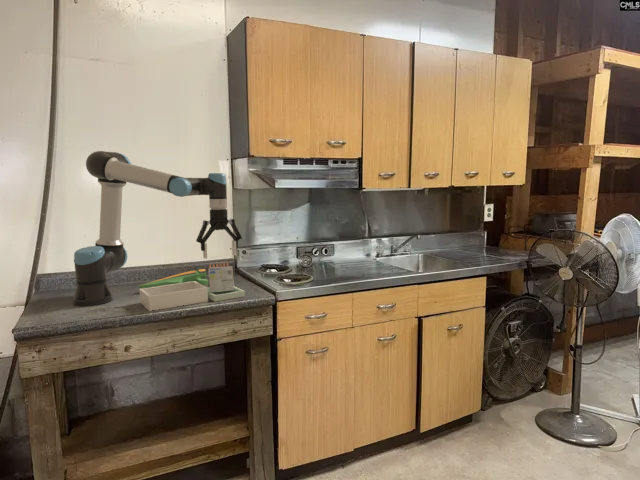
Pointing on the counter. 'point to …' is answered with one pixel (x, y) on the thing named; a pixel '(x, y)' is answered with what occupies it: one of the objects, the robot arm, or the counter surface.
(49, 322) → the counter surface
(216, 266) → the ammunition clip
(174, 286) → the deep bin
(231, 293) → the tray
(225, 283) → the light bulb box
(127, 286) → the counter surface
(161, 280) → the toy spaceship
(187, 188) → the robot arm
